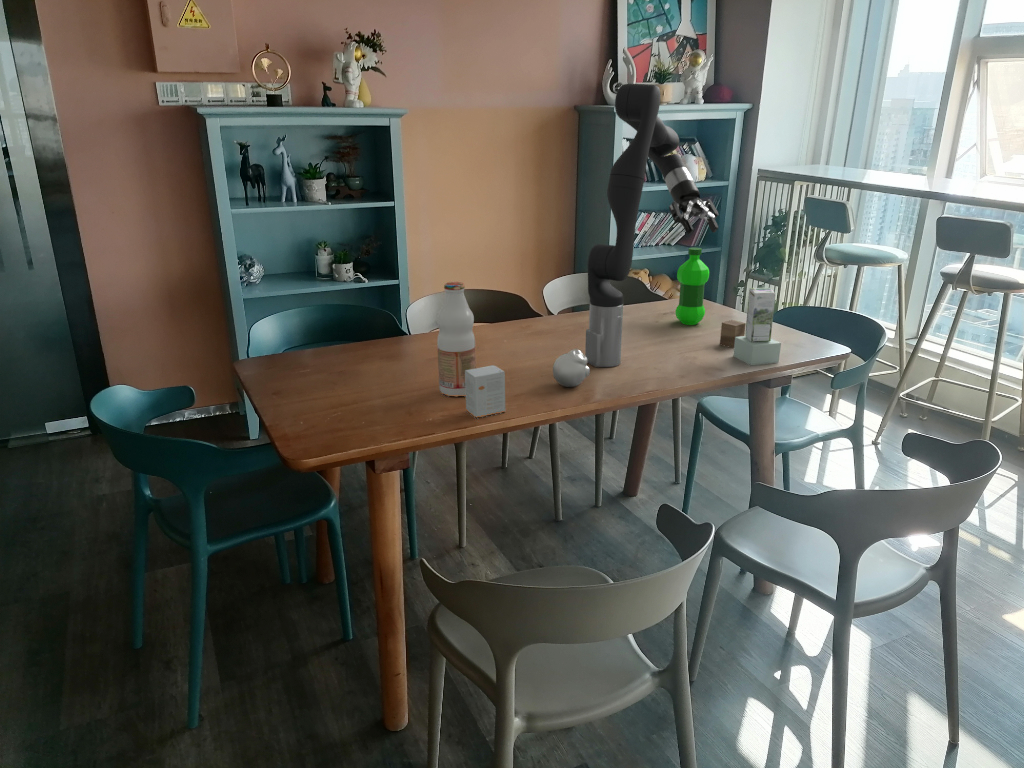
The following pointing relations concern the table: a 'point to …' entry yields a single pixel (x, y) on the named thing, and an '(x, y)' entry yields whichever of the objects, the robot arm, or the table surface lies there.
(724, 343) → the walnut block
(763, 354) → the green block
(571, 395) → the table surface
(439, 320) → the fruit juice
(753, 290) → the milk carton
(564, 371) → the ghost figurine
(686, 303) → the plastic bottle
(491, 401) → the small box
